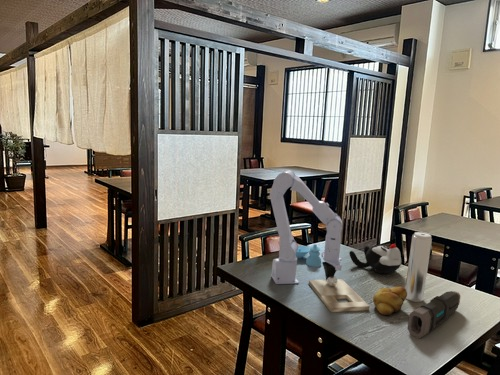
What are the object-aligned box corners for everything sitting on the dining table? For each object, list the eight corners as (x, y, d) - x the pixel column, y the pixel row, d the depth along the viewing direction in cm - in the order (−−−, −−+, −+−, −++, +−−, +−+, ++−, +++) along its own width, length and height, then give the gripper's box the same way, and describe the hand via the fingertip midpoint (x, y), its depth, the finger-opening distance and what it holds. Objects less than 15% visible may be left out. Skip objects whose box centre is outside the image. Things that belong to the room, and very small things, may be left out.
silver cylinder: (408, 292, 139) (416, 230, 135) (425, 298, 135) (435, 234, 130) (401, 297, 135) (409, 233, 130) (419, 304, 130) (428, 238, 126)
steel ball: (328, 288, 135) (329, 278, 135) (324, 283, 139) (325, 274, 138) (338, 288, 136) (339, 278, 135) (334, 283, 140) (335, 274, 139)
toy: (396, 255, 145) (356, 230, 158) (381, 288, 151) (344, 261, 164) (414, 248, 155) (375, 225, 168) (400, 279, 161) (363, 254, 174)
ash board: (330, 312, 121) (331, 307, 121) (308, 283, 142) (309, 280, 142) (368, 310, 124) (369, 306, 124) (341, 282, 145) (341, 279, 145)
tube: (465, 322, 125) (428, 342, 105) (445, 318, 130) (406, 336, 110) (463, 290, 126) (426, 304, 106) (443, 288, 131) (404, 300, 111)
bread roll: (391, 321, 118) (394, 298, 116) (364, 309, 124) (366, 287, 123) (407, 308, 127) (410, 287, 125) (380, 298, 133) (383, 278, 132)
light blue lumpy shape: (283, 255, 172) (284, 237, 170) (299, 252, 178) (300, 234, 177) (310, 268, 158) (312, 249, 156) (326, 264, 164) (328, 245, 162)
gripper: (350, 254, 132) (346, 288, 134) (334, 241, 146) (331, 272, 148) (332, 254, 130) (329, 289, 133) (317, 241, 144) (315, 273, 147)
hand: (329, 280), depth 140 cm, fingers closed, pressing on steel ball
